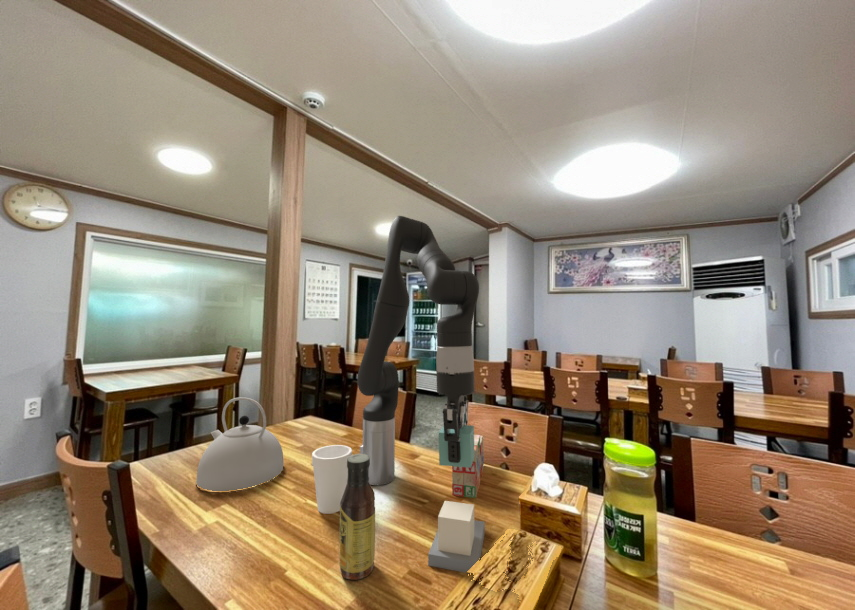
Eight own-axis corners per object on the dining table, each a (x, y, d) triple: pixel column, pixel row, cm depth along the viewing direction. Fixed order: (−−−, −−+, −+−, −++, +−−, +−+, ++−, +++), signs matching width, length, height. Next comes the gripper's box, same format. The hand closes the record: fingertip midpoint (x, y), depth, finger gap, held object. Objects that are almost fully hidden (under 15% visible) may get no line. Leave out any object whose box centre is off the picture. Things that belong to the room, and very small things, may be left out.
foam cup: (358, 500, 84) (358, 447, 85) (336, 520, 75) (337, 461, 76) (326, 494, 87) (327, 443, 88) (302, 513, 78) (303, 456, 79)
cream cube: (438, 550, 62) (438, 516, 63) (444, 531, 68) (444, 500, 68) (470, 555, 61) (469, 521, 61) (474, 536, 66) (474, 504, 67)
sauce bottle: (342, 559, 63) (343, 450, 64) (375, 557, 63) (376, 449, 65) (335, 585, 56) (337, 464, 58) (373, 583, 57) (374, 462, 58)
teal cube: (439, 465, 63) (438, 432, 64) (445, 453, 69) (444, 424, 70) (470, 467, 62) (470, 434, 62) (474, 455, 68) (473, 425, 68)
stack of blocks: (464, 463, 107) (463, 424, 108) (484, 465, 106) (483, 425, 107) (452, 496, 87) (451, 447, 87) (476, 499, 85) (475, 449, 86)
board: (428, 565, 61) (428, 554, 61) (443, 525, 74) (443, 515, 74) (477, 574, 59) (477, 562, 59) (484, 531, 71) (484, 521, 71)
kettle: (171, 483, 94) (175, 401, 96) (242, 454, 115) (245, 388, 117) (234, 500, 85) (237, 409, 86) (299, 466, 106) (301, 393, 107)
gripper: (444, 365, 75) (445, 442, 74) (428, 373, 61) (429, 468, 60) (477, 365, 73) (480, 444, 72) (469, 373, 59) (471, 472, 58)
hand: (457, 455), depth 66 cm, fingers closed on teal cube, 6 cm apart
